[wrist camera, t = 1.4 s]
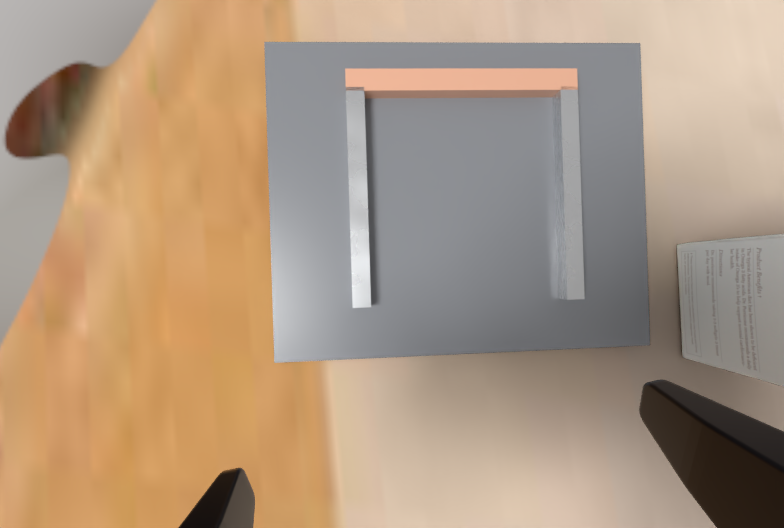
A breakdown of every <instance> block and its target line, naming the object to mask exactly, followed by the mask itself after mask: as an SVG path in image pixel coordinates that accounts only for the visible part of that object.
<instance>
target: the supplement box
mask: <svg viewBox="0 0 784 528" xmlns="http://www.w3.org/2000/svg"><path fill="white" fill-rule="evenodd" d="M677 259H678V276H679V295H680V313H681V334H682V354H683V358H686V359H689V360H693V361H696V362H699V363H703V364H707V365H710V366H714V367H717V368H721V369H724V370H728V371H731V372H734V373H738V374H742V375H745V376H749V377H752V378H756V379H759V380H763V381H766V382H770V383H773V384H776V385H780V386H783V387H784V234H776V235H764V236H753V237H741V238H730V239H720V240H712V241H700V242H689V243H683V244H678V245H677Z"/></svg>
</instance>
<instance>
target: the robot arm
mask: <svg viewBox="0 0 784 528" xmlns="http://www.w3.org/2000/svg"><path fill="white" fill-rule="evenodd" d="M639 410H640V415H641V418H642V420H643V422H644V424H645V425H646V427H647V428H648V430H649V431H650V433H651V434H652V436H653V437H654V439H655V441H656V442H657V444H658V445H659V447H660V448H661V450H662V451H663V453H664V455H665V456H666V458H667V459H668V461H669V462H670V464H671V465H672V467H673V469H674V470H675V472H676V473H677V475H678V476H679V478H680V479H681V481H682V482H683V484H684V485H685V486H686V488H687V489H688V491H689V492H690V493H691V495H692V496H693V497H694V499H695V500H696V501H697V502H698V504H699V505H700V506H701V508H702V509H703V510H704V512H705V513H706V514H707V515H708V517H709V518H710V519H711V521H712V522H713V523H714V524H715V526H716V527H717V528H784V432H783V431H781V430H779V429H776V428H774V427H772V426H769V425H767V424H765V423H763V422H760V421H758V420H756V419H754V418H751V417H749V416H747V415H744V414H742V413H740V412H738V411H735V410H733V409H731V408H728V407H726V406H724V405H722V404H719V403H717V402H715V401H712V400H710V399H708V398H706V397H703V396H701V395H699V394H696V393H694V392H692V391H690V390H687V389H685V388H683V387H680V386H678V385H676V384H674V383H671V382H669V381H666V380H657V381H652V382H648V383H646V384H645V385H644V386H643V390H642V396H641V402H640V409H639ZM254 509H255V496H254V492H253V489H252V487H251V485H250V482H249V480H248V478H247V476H246V473H245V471H244V470H243V469H242V468H235V469H230V470H226V471H223V472H222V473H220V474H219V475H218V477H217V478H216V479H215V481H214V482H213V483H212V485H211V486H210V487H209V488H208V490H207V491H206V492H205V494H204V495H203V496H202V498H201V499H200V500H199V502H198V503H197V504H196V505H195V507H194V508H193V509H192V511H191V512H190V513H189V515H188V516H187V517H186V519H185V520H184V521H183V522H182V524H181V525H180V526H179V528H253V523H254Z"/></svg>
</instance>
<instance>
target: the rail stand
mask: <svg viewBox="0 0 784 528" xmlns="http://www.w3.org/2000/svg"><path fill="white" fill-rule="evenodd" d="M264 43H265V75H266V107H267V139H268V171H269V203H270V235H271V267H272V298H273V330H274V362H275V363H279V362H300V361H322V360H343V359H365V358H386V357H408V356H429V355H451V354H472V353H494V352H516V351H537V350H559V349H580V348H602V347H623V346H645V345H650V328H649V298H648V267H647V237H646V206H645V176H644V145H643V115H642V84H641V54H640V43H408V42H264Z"/></svg>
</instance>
